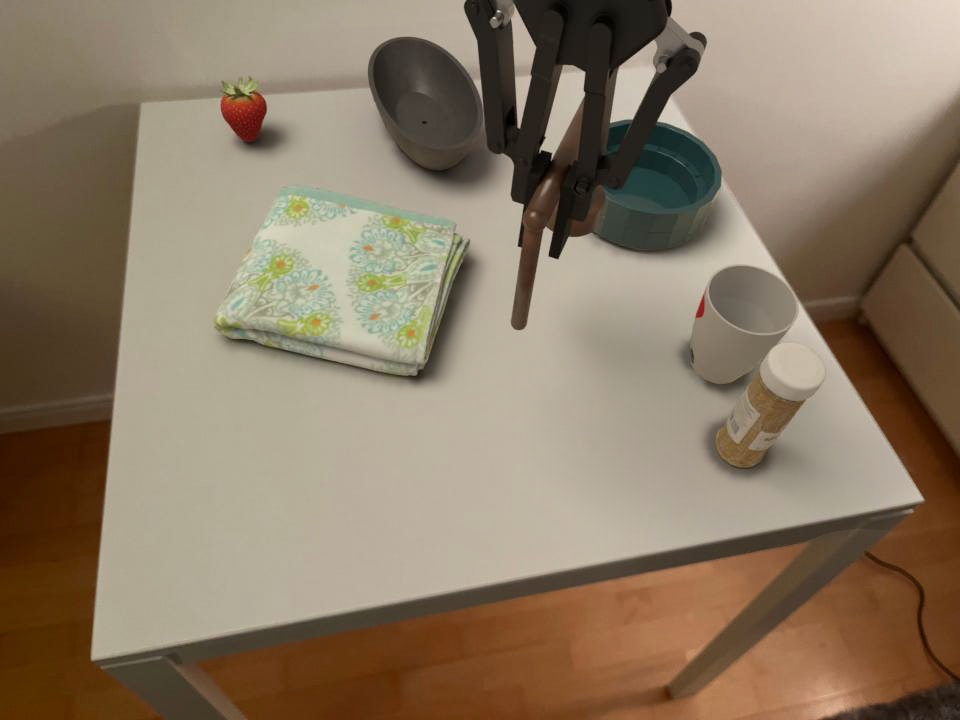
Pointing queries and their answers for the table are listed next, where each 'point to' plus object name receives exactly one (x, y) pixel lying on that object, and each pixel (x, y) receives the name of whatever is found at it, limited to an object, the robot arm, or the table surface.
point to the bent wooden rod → (550, 217)
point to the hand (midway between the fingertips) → (543, 239)
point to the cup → (739, 321)
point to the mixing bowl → (660, 190)
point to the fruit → (243, 108)
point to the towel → (344, 281)
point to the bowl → (425, 101)
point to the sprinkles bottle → (770, 403)
